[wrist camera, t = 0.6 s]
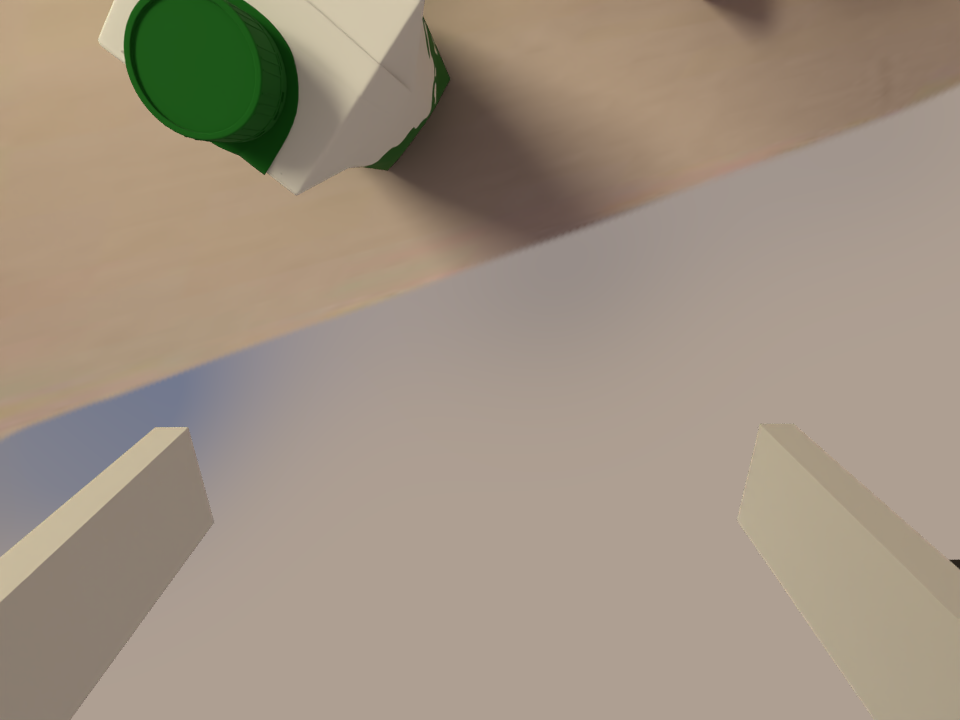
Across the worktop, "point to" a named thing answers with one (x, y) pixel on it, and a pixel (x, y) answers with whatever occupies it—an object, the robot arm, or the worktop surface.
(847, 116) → the worktop surface
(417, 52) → the milk carton
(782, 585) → the robot arm
